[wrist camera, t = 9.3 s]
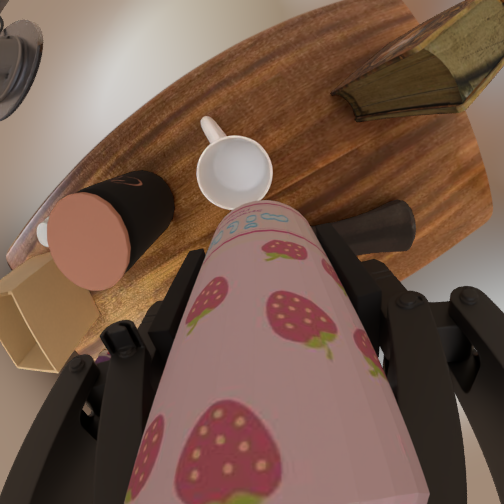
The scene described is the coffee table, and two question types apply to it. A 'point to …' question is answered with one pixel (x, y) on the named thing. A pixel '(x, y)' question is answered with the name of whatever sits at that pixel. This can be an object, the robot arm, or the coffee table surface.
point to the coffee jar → (108, 227)
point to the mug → (232, 168)
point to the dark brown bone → (379, 229)
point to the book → (431, 65)
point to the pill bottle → (43, 232)
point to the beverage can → (273, 383)
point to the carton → (43, 315)
